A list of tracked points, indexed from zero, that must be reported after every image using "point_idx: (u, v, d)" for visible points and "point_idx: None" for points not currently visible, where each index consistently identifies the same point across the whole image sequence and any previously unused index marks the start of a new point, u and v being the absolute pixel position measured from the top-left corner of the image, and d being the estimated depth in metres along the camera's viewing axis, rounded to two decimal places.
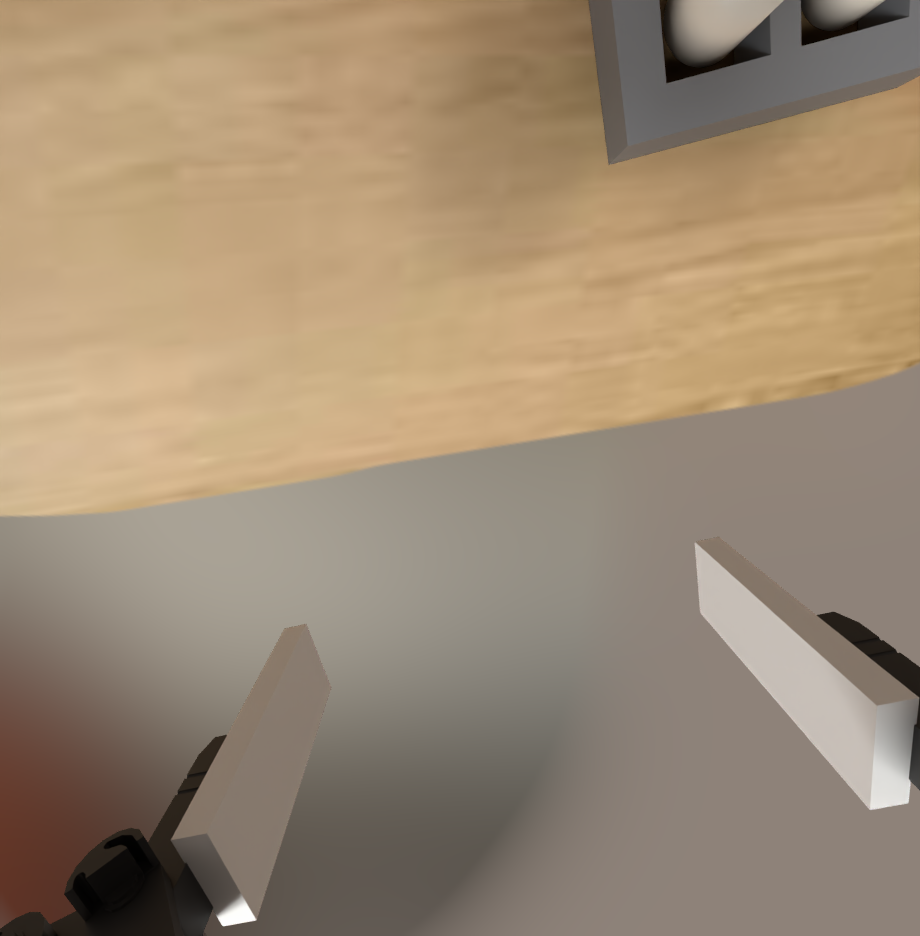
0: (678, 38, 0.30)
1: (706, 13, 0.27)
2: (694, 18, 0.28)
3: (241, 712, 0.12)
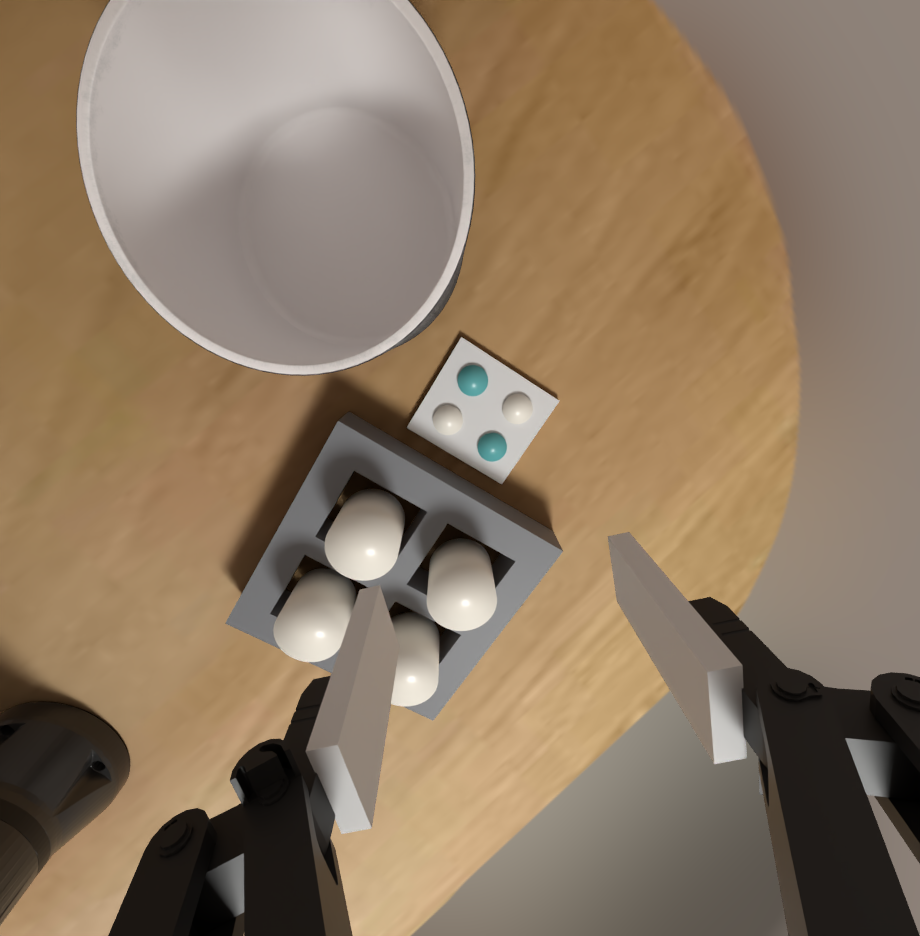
0: None
1: None
2: None
3: (339, 656, 0.13)
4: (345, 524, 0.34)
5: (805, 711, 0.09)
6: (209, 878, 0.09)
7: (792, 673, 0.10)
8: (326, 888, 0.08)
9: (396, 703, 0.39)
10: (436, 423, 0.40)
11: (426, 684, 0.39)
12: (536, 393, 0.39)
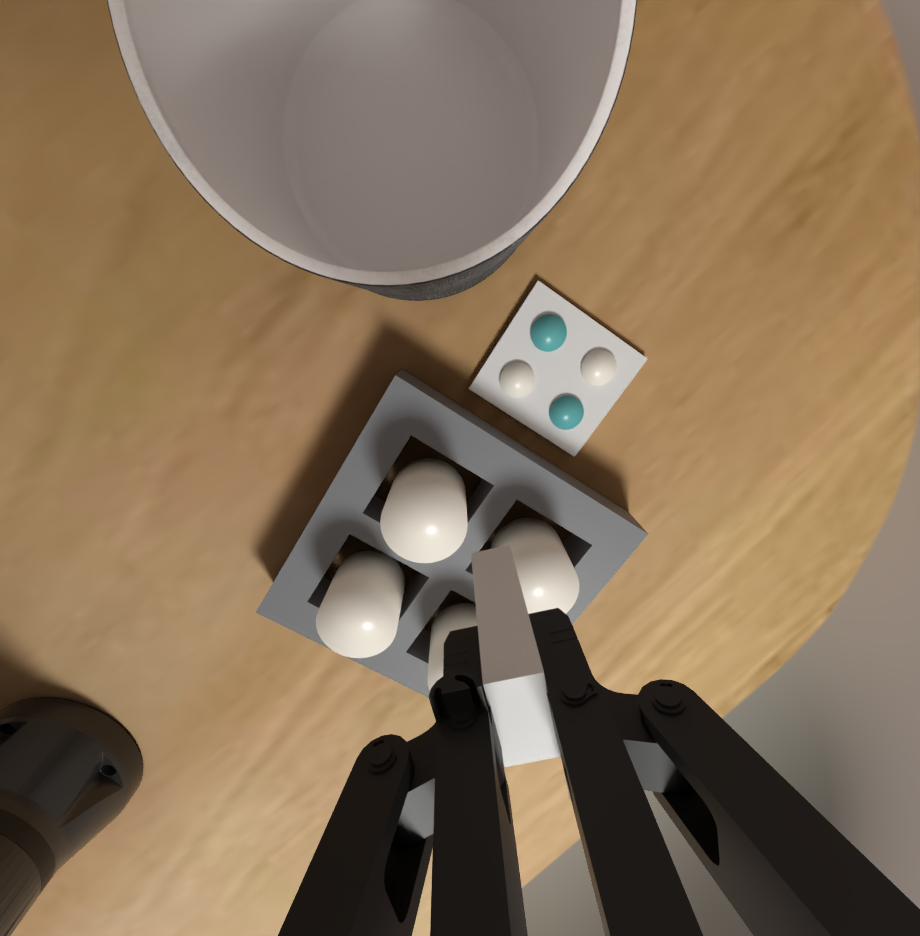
0: None
1: None
2: None
3: (476, 608, 0.14)
4: (406, 495, 0.29)
5: (587, 712, 0.10)
6: (418, 793, 0.10)
7: (575, 678, 0.11)
8: (504, 827, 0.09)
9: None
10: (503, 383, 0.34)
11: None
12: (621, 349, 0.34)
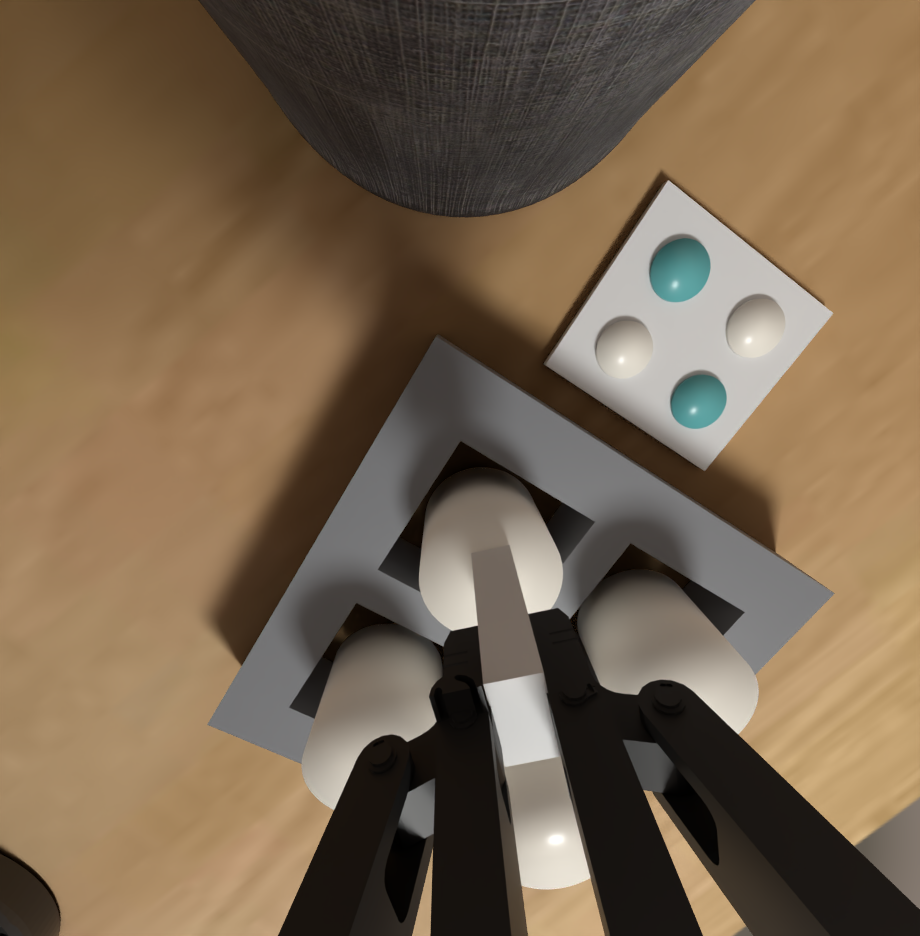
0: None
1: None
2: None
3: (476, 608, 0.14)
4: (463, 532, 0.17)
5: (587, 712, 0.10)
6: (418, 793, 0.10)
7: (574, 678, 0.11)
8: (504, 827, 0.09)
9: (531, 885, 0.21)
10: (603, 355, 0.21)
11: None
12: (793, 298, 0.21)
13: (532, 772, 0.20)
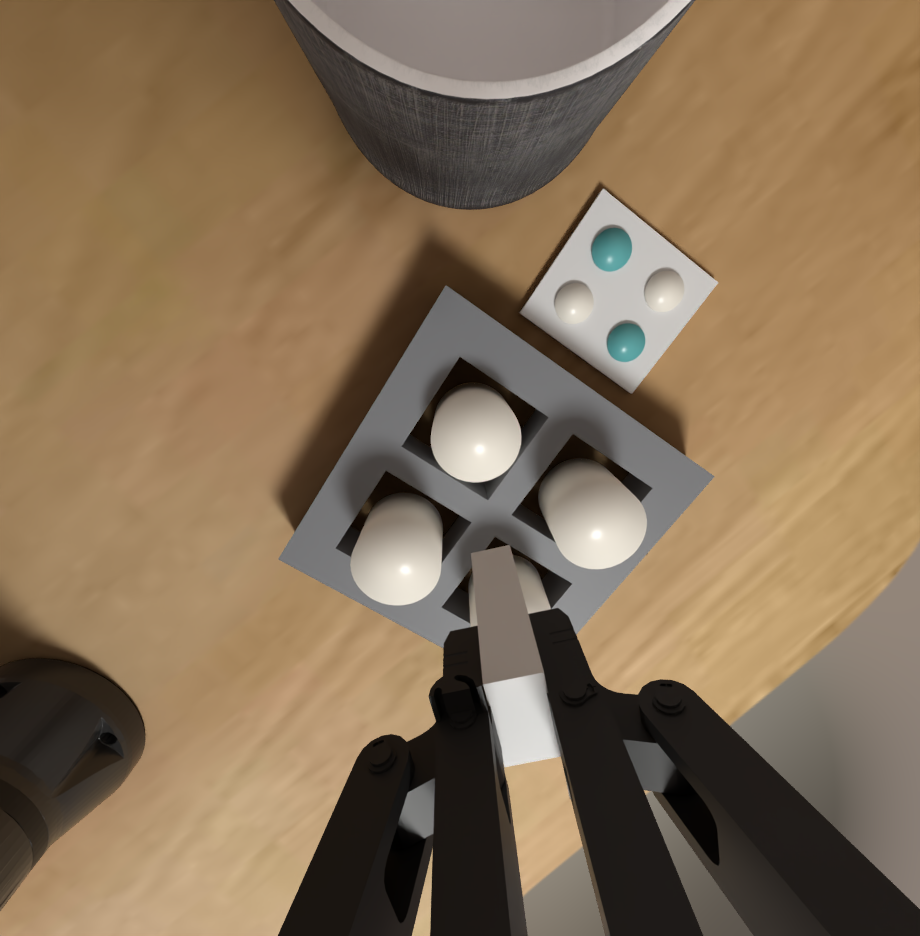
0: None
1: None
2: None
3: (476, 608, 0.14)
4: (459, 407, 0.28)
5: (587, 712, 0.10)
6: (418, 793, 0.10)
7: (575, 678, 0.11)
8: (504, 827, 0.09)
9: None
10: (559, 307, 0.31)
11: None
12: (690, 271, 0.31)
13: None
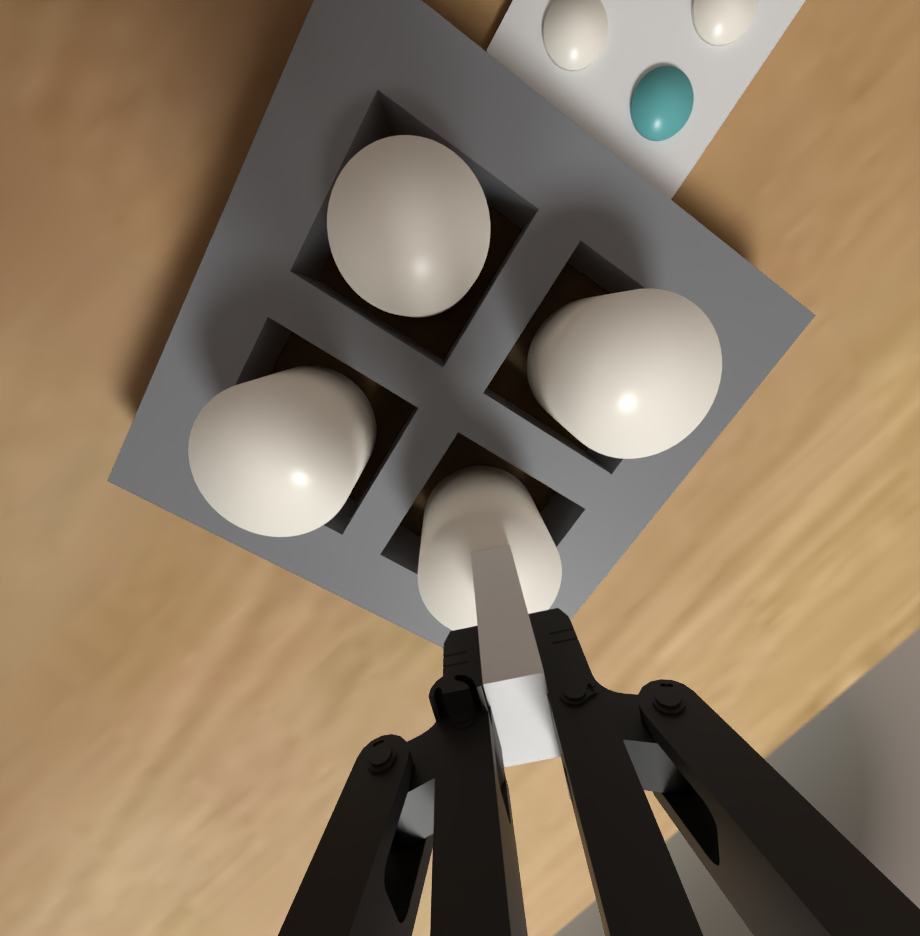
0: None
1: None
2: None
3: (476, 608, 0.14)
4: (374, 163, 0.15)
5: (587, 711, 0.10)
6: (418, 793, 0.10)
7: (575, 678, 0.11)
8: (504, 827, 0.09)
9: None
10: (551, 36, 0.18)
11: (536, 588, 0.18)
12: None
13: (468, 500, 0.18)
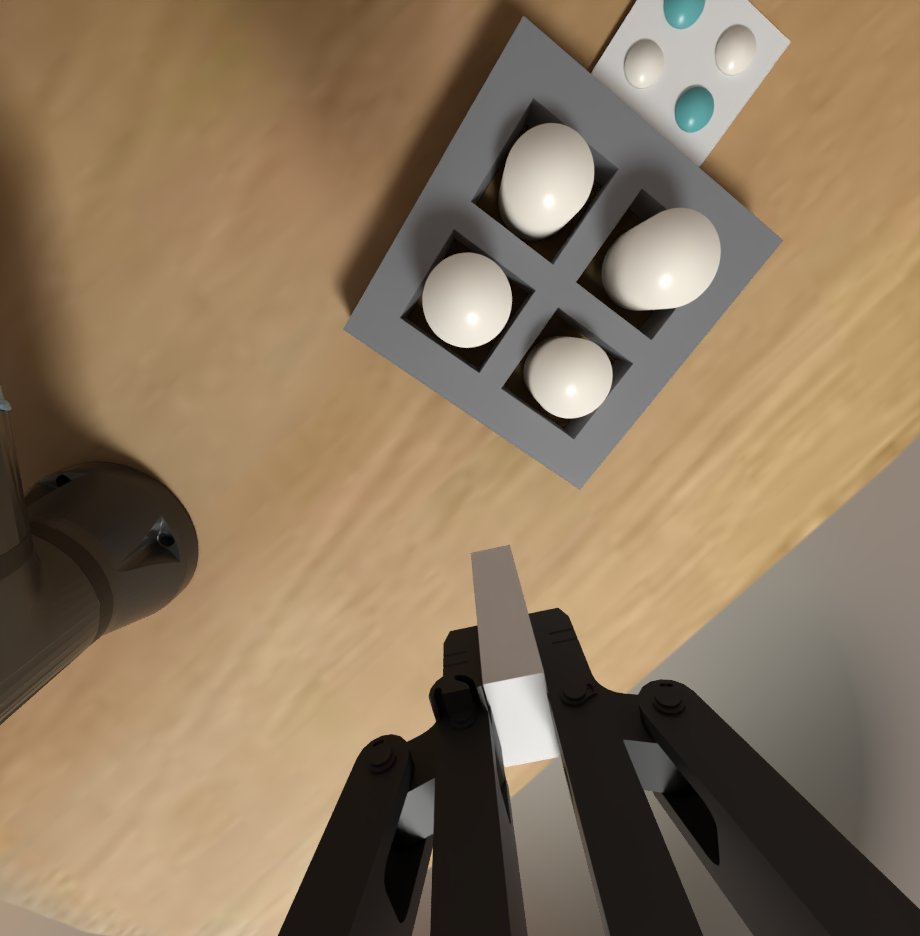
0: None
1: None
2: None
3: (476, 608, 0.14)
4: (534, 137, 0.28)
5: (587, 712, 0.10)
6: (418, 793, 0.10)
7: (575, 678, 0.11)
8: (504, 827, 0.09)
9: (557, 413, 0.33)
10: (629, 68, 0.31)
11: (597, 387, 0.32)
12: (762, 28, 0.31)
13: (561, 338, 0.33)
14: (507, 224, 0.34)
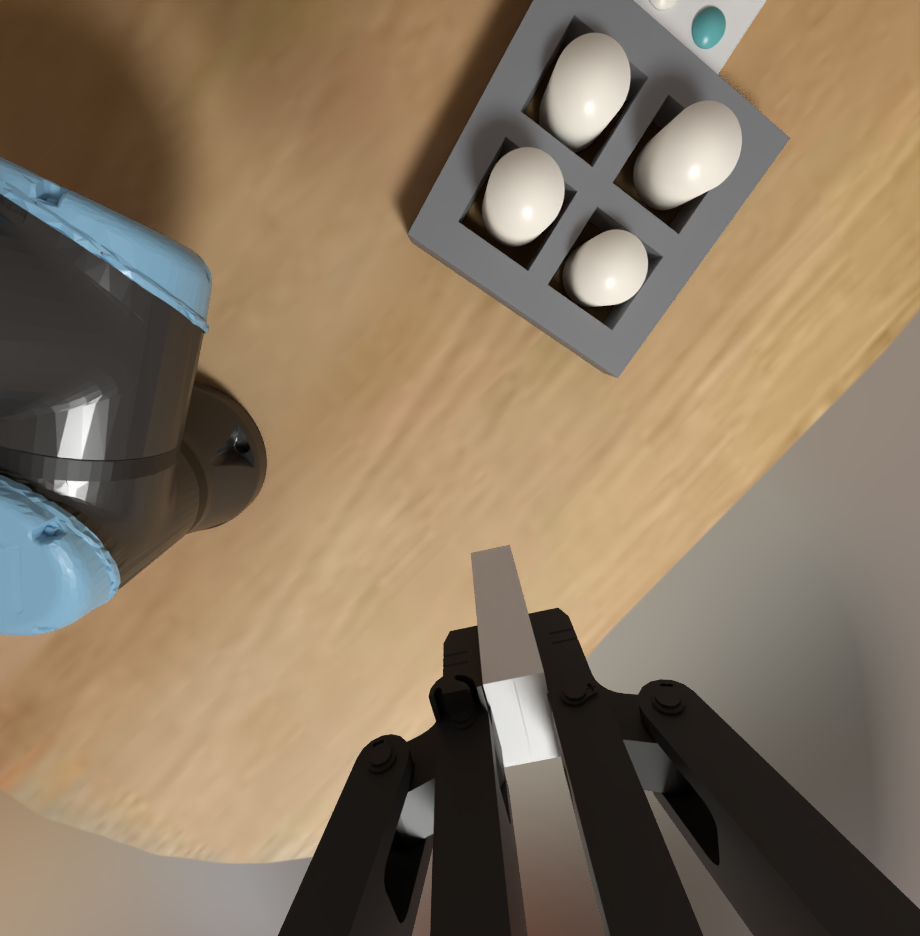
0: (591, 306, 0.42)
1: (605, 305, 0.39)
2: (598, 305, 0.40)
3: (476, 608, 0.14)
4: (579, 46, 0.32)
5: (587, 712, 0.10)
6: (418, 793, 0.10)
7: (575, 678, 0.11)
8: (504, 827, 0.09)
9: (600, 300, 0.38)
10: None
11: (635, 274, 0.37)
12: None
13: None
14: None
